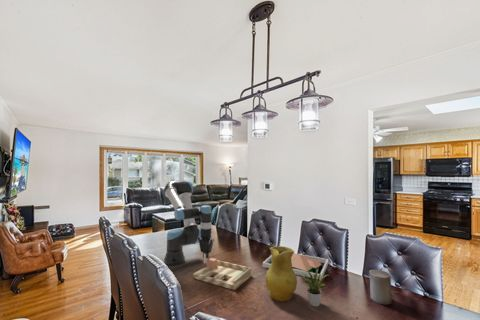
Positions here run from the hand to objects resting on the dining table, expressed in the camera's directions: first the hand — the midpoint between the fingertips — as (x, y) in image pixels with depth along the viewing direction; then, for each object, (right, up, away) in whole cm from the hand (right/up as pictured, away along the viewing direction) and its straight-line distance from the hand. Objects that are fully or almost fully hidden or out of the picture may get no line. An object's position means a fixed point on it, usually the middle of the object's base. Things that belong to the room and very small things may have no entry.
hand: (205, 262), depth 160 cm
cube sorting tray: (+12, -4, -12) cm, 17 cm away
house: (+65, -5, +7) cm, 65 cm away
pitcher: (+47, -3, -32) cm, 57 cm away
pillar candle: (+98, -3, -37) cm, 105 cm away
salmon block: (+5, -2, -2) cm, 6 cm away
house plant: (+63, -3, -41) cm, 75 cm away
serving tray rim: (+64, -5, +7) cm, 65 cm away
